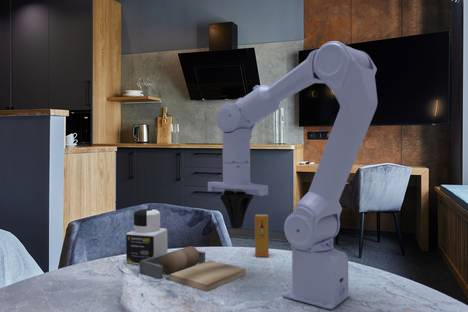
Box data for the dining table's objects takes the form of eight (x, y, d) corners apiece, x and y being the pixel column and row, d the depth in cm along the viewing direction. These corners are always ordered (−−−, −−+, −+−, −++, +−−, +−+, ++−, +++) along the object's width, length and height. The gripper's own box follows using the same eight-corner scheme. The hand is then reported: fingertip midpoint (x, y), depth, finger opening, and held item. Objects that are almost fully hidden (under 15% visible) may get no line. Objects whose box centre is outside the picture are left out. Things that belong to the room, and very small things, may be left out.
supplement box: (268, 253, 99) (268, 213, 99) (268, 257, 95) (268, 216, 95) (255, 253, 99) (255, 213, 99) (254, 257, 96) (254, 216, 96)
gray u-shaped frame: (205, 263, 91) (205, 252, 91) (160, 278, 81) (159, 266, 80) (185, 258, 95) (185, 247, 95) (139, 272, 85) (139, 260, 85)
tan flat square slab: (245, 274, 83) (245, 268, 83) (207, 291, 74) (206, 284, 74) (205, 264, 90) (205, 259, 90) (165, 278, 81) (165, 272, 81)
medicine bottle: (125, 263, 91) (125, 211, 91) (141, 255, 98) (141, 207, 98) (153, 266, 89) (153, 213, 89) (168, 257, 96) (167, 208, 96)
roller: (181, 255, 92) (193, 269, 90) (157, 264, 85) (169, 279, 83) (190, 242, 90) (202, 256, 88) (166, 250, 83) (178, 265, 81)
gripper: (276, 162, 81) (276, 228, 81) (222, 161, 90) (222, 220, 90) (256, 164, 76) (256, 234, 76) (200, 162, 85) (201, 225, 85)
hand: (236, 227), depth 83 cm, fingers closed
